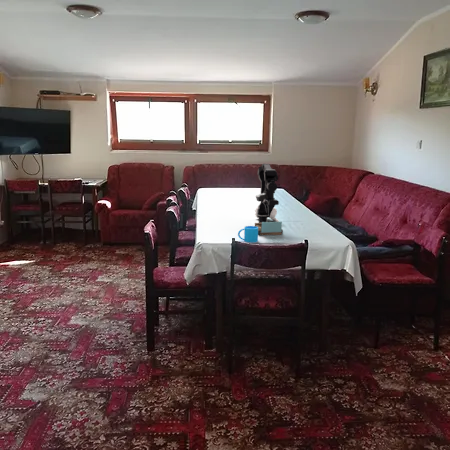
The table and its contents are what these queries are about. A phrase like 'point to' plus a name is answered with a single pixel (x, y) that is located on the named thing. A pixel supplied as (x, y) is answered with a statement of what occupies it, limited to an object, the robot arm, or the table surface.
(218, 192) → the table surface
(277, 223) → the panel
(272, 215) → the cherub figurine
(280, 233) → the truck bed
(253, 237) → the mug
